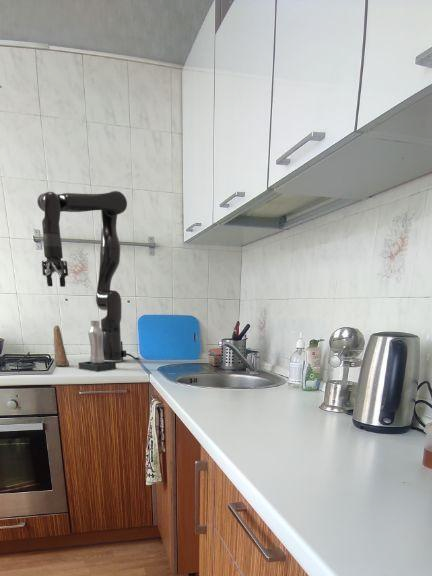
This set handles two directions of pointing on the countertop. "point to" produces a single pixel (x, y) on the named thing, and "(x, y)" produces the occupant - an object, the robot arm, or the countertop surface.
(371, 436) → the countertop surface
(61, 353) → the brown tapered cone
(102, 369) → the tray
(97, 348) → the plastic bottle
